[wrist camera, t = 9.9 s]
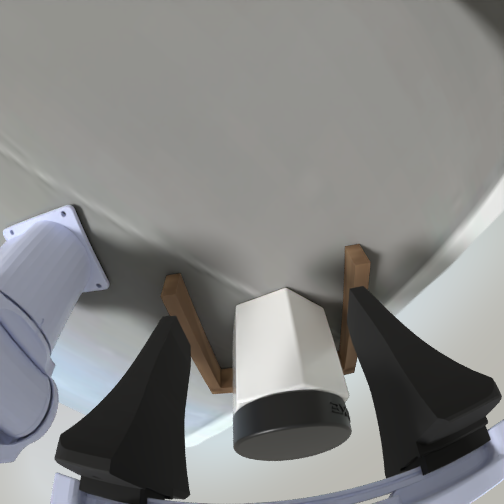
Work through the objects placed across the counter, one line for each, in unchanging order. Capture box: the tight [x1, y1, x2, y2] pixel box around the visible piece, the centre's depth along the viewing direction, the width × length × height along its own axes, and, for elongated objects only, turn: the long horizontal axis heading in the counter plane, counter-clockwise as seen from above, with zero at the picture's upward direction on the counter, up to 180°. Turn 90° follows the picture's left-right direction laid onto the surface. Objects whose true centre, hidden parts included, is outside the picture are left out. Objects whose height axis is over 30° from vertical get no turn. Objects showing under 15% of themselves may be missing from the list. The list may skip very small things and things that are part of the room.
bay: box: [161, 244, 371, 394], centre depth 25 cm, size 15×15×2 cm
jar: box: [233, 288, 352, 461], centre depth 21 cm, size 9×8×12 cm
